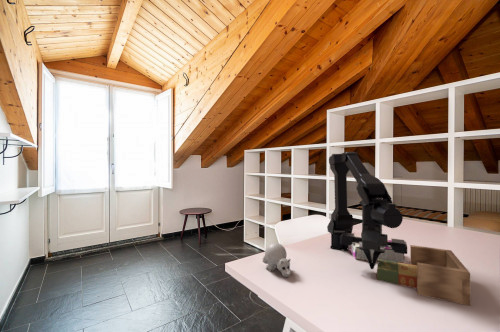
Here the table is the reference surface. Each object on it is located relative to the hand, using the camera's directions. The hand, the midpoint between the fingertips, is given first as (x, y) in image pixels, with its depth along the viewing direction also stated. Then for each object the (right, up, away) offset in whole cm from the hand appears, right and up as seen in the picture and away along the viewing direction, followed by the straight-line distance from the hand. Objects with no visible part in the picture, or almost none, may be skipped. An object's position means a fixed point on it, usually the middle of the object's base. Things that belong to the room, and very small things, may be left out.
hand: (372, 268), depth 75 cm
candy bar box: (+17, +1, +13) cm, 21 cm away
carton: (+8, -2, -6) cm, 10 cm away
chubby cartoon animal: (-30, -2, +1) cm, 30 cm away
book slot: (+14, -1, -8) cm, 16 cm away
